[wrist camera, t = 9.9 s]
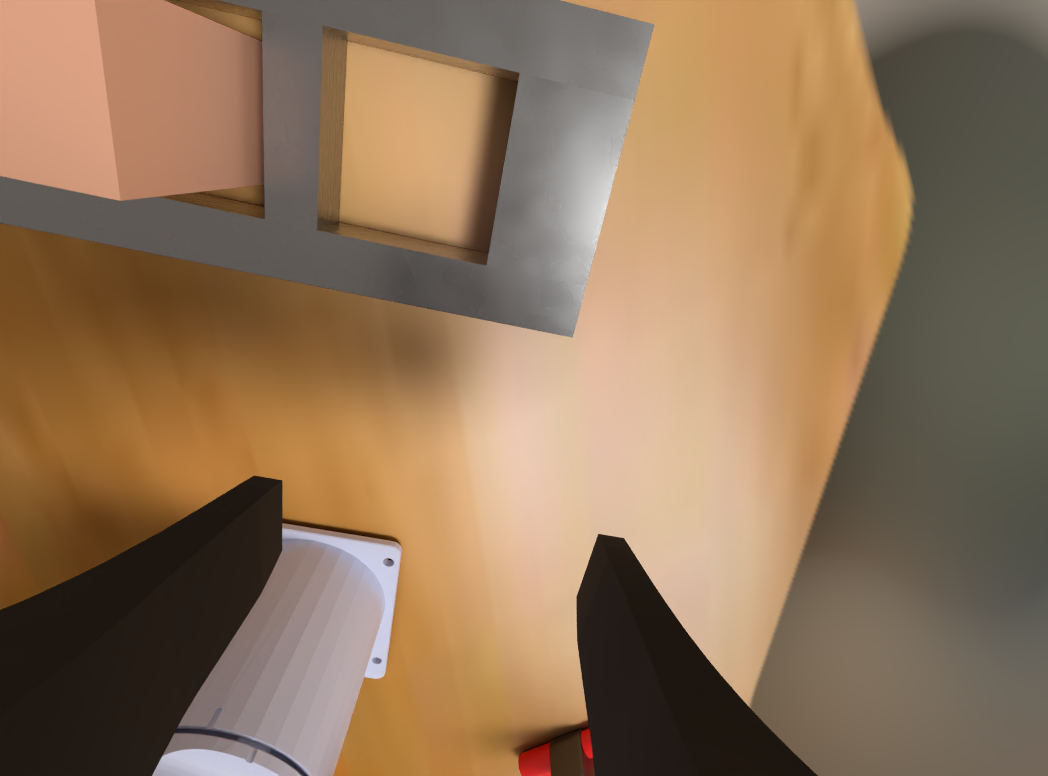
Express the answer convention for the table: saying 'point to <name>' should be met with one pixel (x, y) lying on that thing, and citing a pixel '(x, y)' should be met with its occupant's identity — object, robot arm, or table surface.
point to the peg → (128, 99)
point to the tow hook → (560, 757)
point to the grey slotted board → (316, 157)
